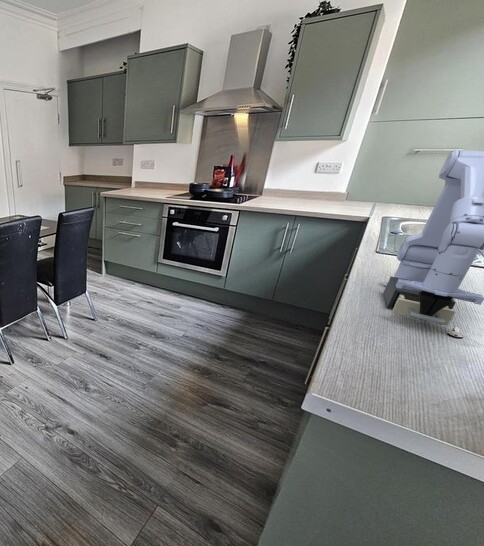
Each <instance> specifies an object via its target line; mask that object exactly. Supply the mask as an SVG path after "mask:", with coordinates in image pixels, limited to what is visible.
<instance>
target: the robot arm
mask: <svg viewBox="0 0 484 546" xmlns="http://www.w3.org/2000/svg"><path fill="white" fill-rule="evenodd" d="M438 179H441V180H443V181H444V186H443V188H442V190H441V193H440V195H439V196H438V199H437V200H436V202H435V204H434V207H433V209H432V211H431V213H430V214H429V217H428V219H427V221H426V223H425V224H424V226H423V229H422V231H421V232H420V233H416V234H413V235H408V236H407V237H406V238H404V240H403V242H402V243H401V245H400V246H399V248H398V250H397V254H396V259H397V261H399V264H398V267H397V269H396V271H395V273H394V275H393V277H397V278H402V279H407V280H402V279H398V281H397V283H396V288H400V289H402V288H404V289H409V290H414V291H418V293H419V298H420V312H419V314H423V315H427V316H431V317H432V316H433V315H434V314H435V313H437V312H438V311H439V310H441V309H443V308H444V307H446V306H448V305H450V304H451V303H452V298H453V299H454V300H458V301H464V302H467V303H468V302H469V303H473V304H475V305H480V306H481V305H482V303H483V302H484V295H483V294H479V293H476V292H471V291H466V290H463V289H459V287H460V286H461V285H462V282H463V280H464V279H465V277H466V275H467V273H468V272H469V270H470V268H471V266H472V264H473V262H474V261H475V259H476V257H477V255H478V253H479V252H480V251H483V250H484V150H459V149H454V150H453V151H451V152H450V153H449V154H448V155H447V157H446V159H445V160H444V162H443V164H442V167H441V169H440V171H439V173H438ZM409 280H413V281H409ZM387 284H388V282H382V285H383V286H385V287H386V286H387ZM418 320H419V321H422V322H426V323H427V322H428V321H424V320H420V319H418Z"/></svg>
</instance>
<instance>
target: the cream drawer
mask: <svg viewBox="0 0 484 546" xmlns="http://www.w3.org/2000/svg"><path fill="white" fill-rule="evenodd" d="M448 308H449V307H448V306H446V307H444V308H443V309H441V310H439V311H438V312H437V313H435V314H434V315H433V316H432V317H431V316H427V315H423V314H419V312H420V298H419V297H414V296H410V295H405V294H400V293H398V294H397V296H396V298H395V300H394V308H393V310H392V311H391V312H392V313H393V314H395V315H399V316H400V315H401V316H403V317H404V316H405V317H409V318H413V319H416V320H419V319H420V320H419V321H422V320H424V321H423V322H426V321H427V322H429V323H433V324H436V325H440V326H444V327H445V326H446V327H448V326H449V324H450V322H451V321H452V319H453V317H454V315H455V314H456V310H455V309H448Z"/></svg>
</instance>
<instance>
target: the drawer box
mask: <svg viewBox="0 0 484 546" xmlns="http://www.w3.org/2000/svg"><path fill="white" fill-rule="evenodd" d="M398 279H402V278H397V277H394V276H390V277H389V279H388V282H387V283H388V284H387V286H385V288H384V289H383V293H382V295H383V299H384V302H385V303H384V304H385V307H386V309H387V310H393V308H394V300H395V298H396V296H397V294H398V293H400V294H405V295H410V296H414V297H419V293H418V291H414V290H409V289H404V288H402V289H400V288H396V283H397V281H398ZM402 280H407V279H402ZM409 281H413V280H409ZM456 303H457V302H456V299H454V298H452V303H451V304H450V305H448V307H449V308H448V309H452V310H454V307H455V305H456Z"/></svg>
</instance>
